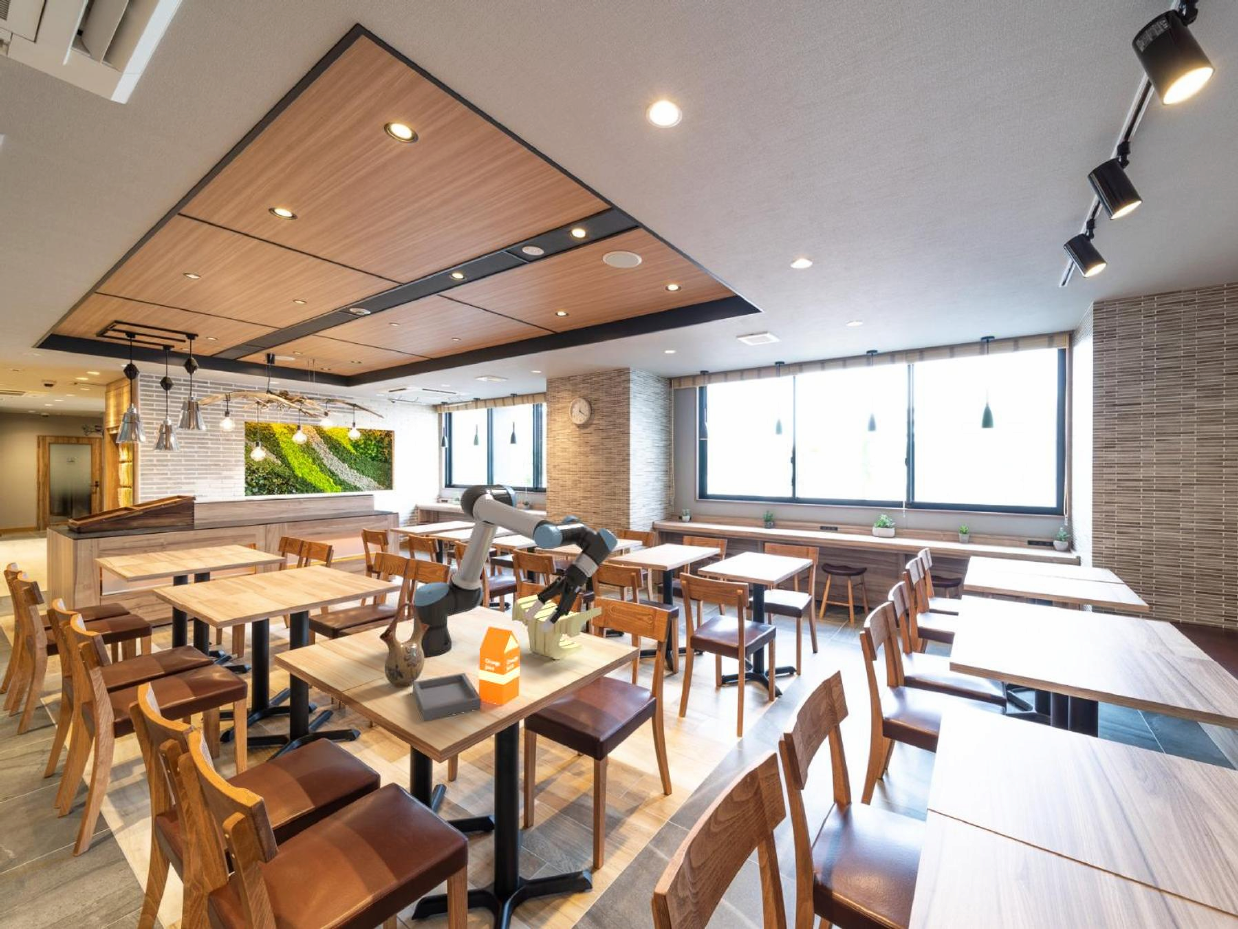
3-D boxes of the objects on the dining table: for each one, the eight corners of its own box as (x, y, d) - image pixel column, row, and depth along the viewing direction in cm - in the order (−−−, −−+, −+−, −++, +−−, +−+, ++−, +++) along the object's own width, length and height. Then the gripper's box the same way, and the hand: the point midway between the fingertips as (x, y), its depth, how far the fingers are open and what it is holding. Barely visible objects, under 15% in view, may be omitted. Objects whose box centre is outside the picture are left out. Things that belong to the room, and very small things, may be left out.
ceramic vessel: (388, 697, 146) (390, 610, 147) (370, 689, 151) (372, 605, 152) (436, 679, 160) (438, 599, 161) (418, 672, 165) (420, 595, 166)
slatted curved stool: (511, 648, 189) (512, 600, 189) (542, 637, 202) (543, 592, 202) (570, 668, 171) (571, 615, 171) (600, 655, 183) (601, 606, 184)
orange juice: (495, 689, 153) (496, 623, 154) (519, 695, 150) (520, 627, 150) (477, 699, 146) (479, 630, 147) (502, 706, 143) (504, 634, 143)
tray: (412, 692, 150) (413, 682, 150) (464, 682, 158) (464, 672, 158) (423, 721, 133) (423, 710, 133) (480, 709, 140) (481, 698, 141)
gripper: (606, 586, 152) (558, 644, 144) (571, 571, 173) (528, 621, 165) (590, 569, 149) (541, 628, 141) (557, 556, 171) (513, 606, 163)
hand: (534, 624), depth 153 cm, fingers open, 13 cm apart
